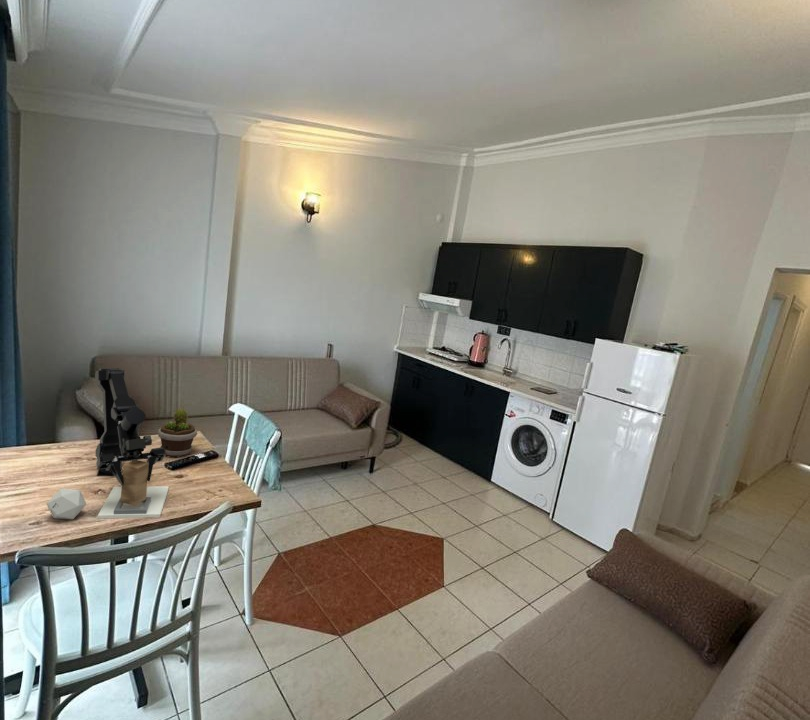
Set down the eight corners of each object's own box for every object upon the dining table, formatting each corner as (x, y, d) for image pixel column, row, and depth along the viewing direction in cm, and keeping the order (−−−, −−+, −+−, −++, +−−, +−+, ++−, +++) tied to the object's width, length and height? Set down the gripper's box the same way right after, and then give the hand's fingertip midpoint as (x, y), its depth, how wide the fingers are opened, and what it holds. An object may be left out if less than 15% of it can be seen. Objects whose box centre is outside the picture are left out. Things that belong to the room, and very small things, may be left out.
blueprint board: (97, 518, 140) (97, 511, 139) (113, 489, 158) (114, 483, 158) (159, 517, 146) (160, 510, 145) (168, 489, 164) (169, 483, 164)
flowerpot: (189, 461, 189) (193, 415, 186) (149, 458, 187) (153, 410, 184) (199, 449, 203) (204, 405, 200) (163, 445, 201) (166, 401, 198)
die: (48, 513, 139) (36, 498, 132) (78, 492, 145) (68, 477, 138) (65, 531, 137) (54, 516, 130) (95, 509, 143) (86, 494, 136)
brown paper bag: (120, 502, 145) (123, 464, 143) (132, 495, 150) (134, 459, 148) (134, 505, 144) (137, 468, 142) (146, 499, 149) (148, 462, 147)
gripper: (100, 429, 140) (107, 478, 134) (166, 424, 153) (175, 468, 147) (93, 445, 146) (99, 492, 140) (157, 439, 159) (165, 481, 153)
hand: (136, 482), depth 145 cm, fingers closed on brown paper bag, 7 cm apart
